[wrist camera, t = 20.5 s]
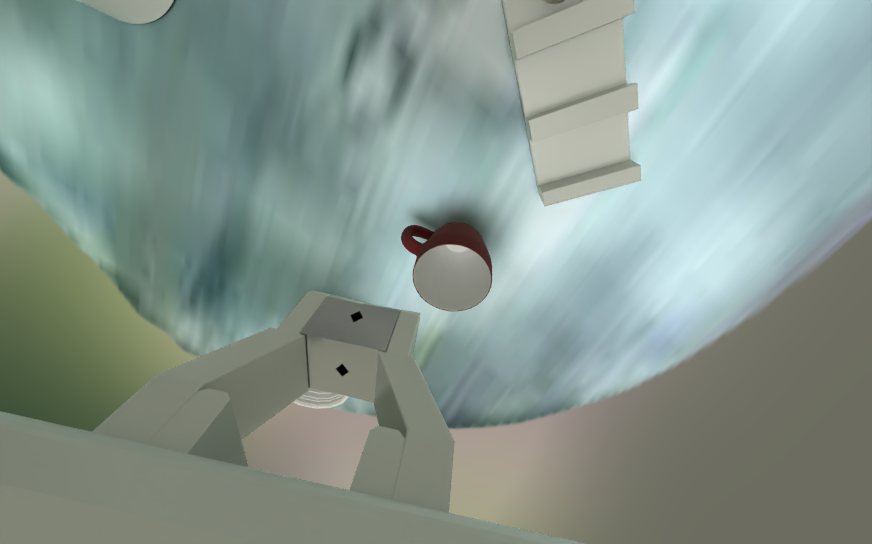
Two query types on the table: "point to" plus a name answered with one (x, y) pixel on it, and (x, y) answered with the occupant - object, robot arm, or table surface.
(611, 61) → the stepped cream block
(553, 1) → the grey-capped cream cylinder
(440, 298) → the mug
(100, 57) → the table surface
